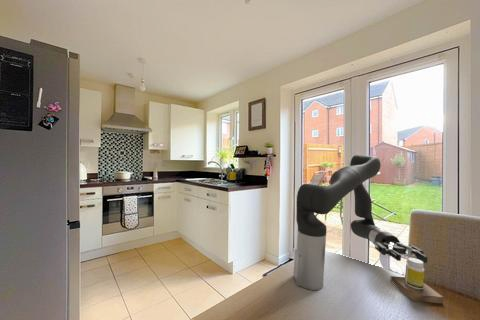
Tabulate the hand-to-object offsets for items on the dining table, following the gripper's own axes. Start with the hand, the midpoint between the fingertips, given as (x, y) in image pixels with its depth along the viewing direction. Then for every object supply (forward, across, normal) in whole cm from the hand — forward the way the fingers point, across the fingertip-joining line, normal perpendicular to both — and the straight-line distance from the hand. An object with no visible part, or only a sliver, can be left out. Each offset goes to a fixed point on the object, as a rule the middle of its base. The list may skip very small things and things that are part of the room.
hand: (413, 259), depth 71 cm
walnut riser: (+2, 0, +10) cm, 10 cm away
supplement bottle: (+2, 0, +8) cm, 8 cm away
